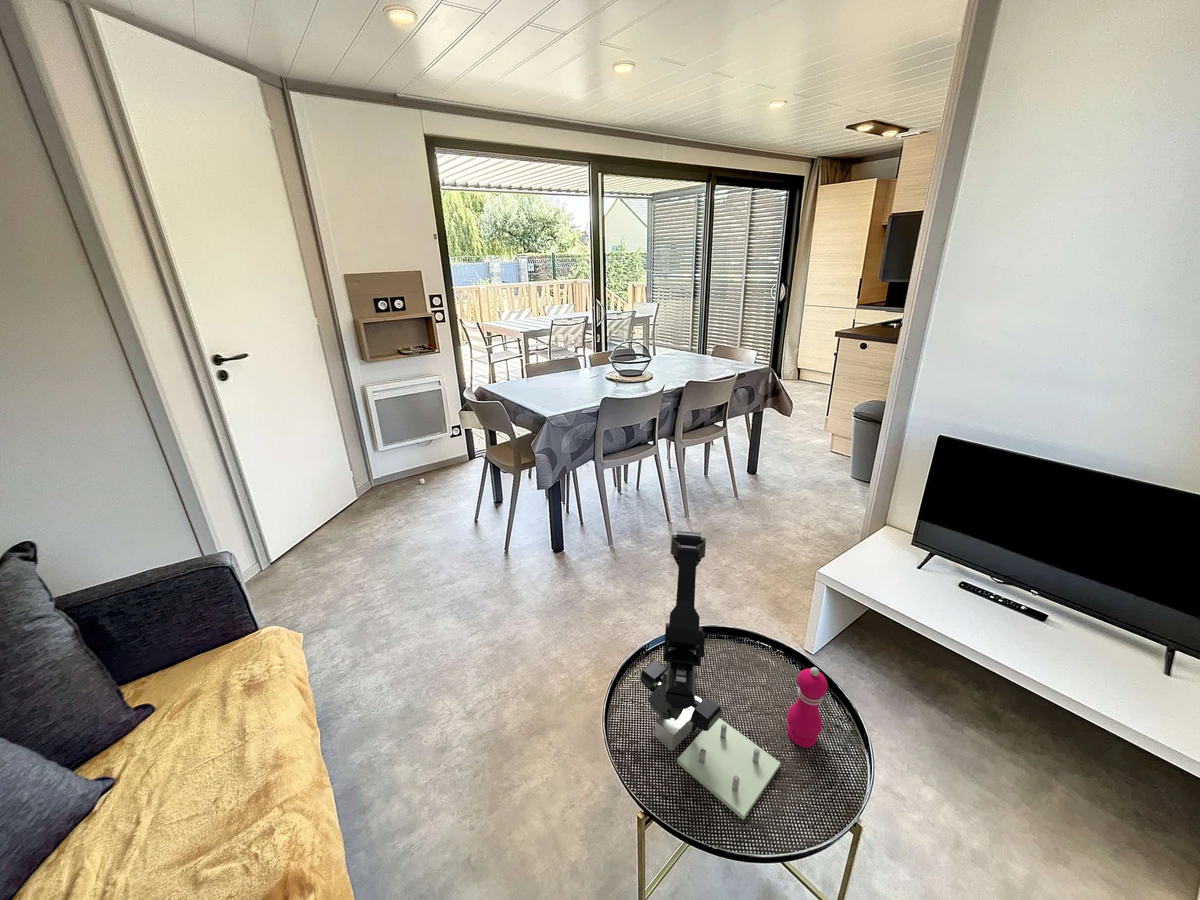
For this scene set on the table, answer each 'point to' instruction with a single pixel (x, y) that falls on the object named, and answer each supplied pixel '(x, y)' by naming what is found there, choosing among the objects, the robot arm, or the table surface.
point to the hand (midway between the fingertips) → (677, 720)
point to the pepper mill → (807, 708)
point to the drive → (674, 729)
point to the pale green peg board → (729, 766)
